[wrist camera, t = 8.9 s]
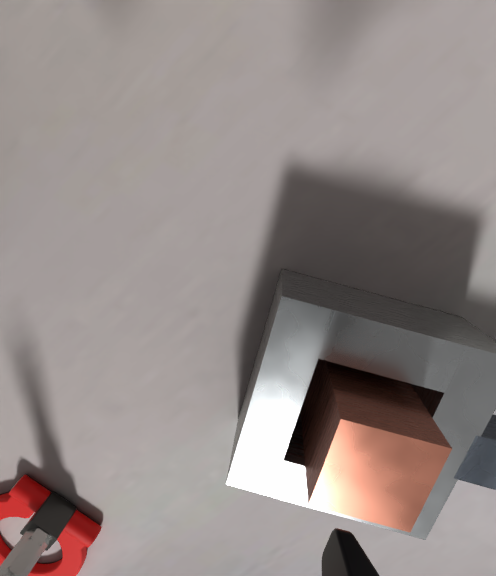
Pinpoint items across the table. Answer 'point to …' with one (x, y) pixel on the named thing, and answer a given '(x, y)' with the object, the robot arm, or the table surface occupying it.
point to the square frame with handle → (371, 358)
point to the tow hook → (44, 531)
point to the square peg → (369, 446)
